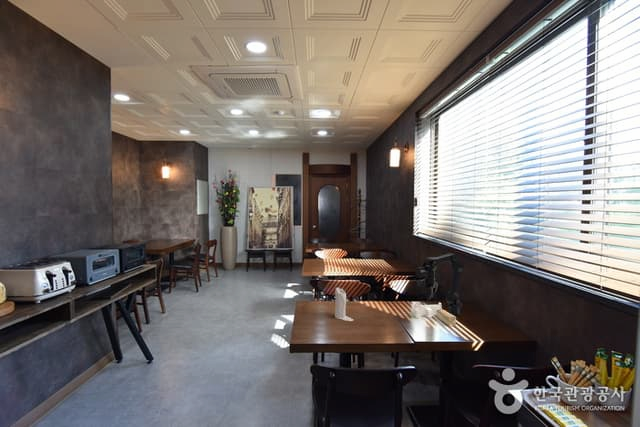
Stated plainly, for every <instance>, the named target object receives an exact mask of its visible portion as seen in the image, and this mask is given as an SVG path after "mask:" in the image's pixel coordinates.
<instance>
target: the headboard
mask: <svg viewBox="0 0 640 427" xmlns="http://www.w3.org/2000/svg"><path fill="white" fill-rule="evenodd" d="M442 305H443V304H442V303H441V302H438V303H437V304H422V305H421V304H420V305H418V303H417V302H416V303H414V307H413V317H414V318H416V319H421V317H423V316H424V317H426V318H430V319H431V318H433V316H437V310H438V309H442V308H443V307H442Z"/></svg>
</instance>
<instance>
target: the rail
mask: <svg viewBox="0 0 640 427" xmlns="http://www.w3.org/2000/svg"><path fill="white" fill-rule="evenodd" d="M448 312H449V311H447V310H444V309H442V308H441V309H438V310H437V315H436V319H438V320H440V321H441V322H443V323H445V324H446V325H447V326H450V327H453V326H456V325H457V316H453V315H451V314H450V313H448Z"/></svg>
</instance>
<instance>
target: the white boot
mask: <svg viewBox="0 0 640 427" xmlns="http://www.w3.org/2000/svg"><path fill="white" fill-rule="evenodd" d="M334 290H335V292H334V294H335V304H334V306H335V307H334V318H335V319H338V320H341V319H342V320H341V321H346V322H347V321H349V322H353V321H354V319H353V318H351V316H350V317H349V316H347V315H346V307H347V306H346V304H347V294H346V291H344V289H343V288H340V287H335V289H334Z"/></svg>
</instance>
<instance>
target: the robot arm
mask: <svg viewBox="0 0 640 427" xmlns="http://www.w3.org/2000/svg"><path fill="white" fill-rule="evenodd" d="M445 262H450V263H451V268H452V277H451V283H450V289H449V291H448V292H446V296H445V301H446V302H447V305H449V307H448V311H447V312H448V313H450V314H451V315H453V316H455V317H460V316H462V314H461V308H462V307H463V302H461V300H460V298H461V297H460V293H459V289H460V288H459V287H460V280H461V272H463V270H464V269H465V264H466V263H465V260H464V259H462V258H460V257H458V256H456V254H454V253H447V254H443V255H439V256H436V257H434V256H433V257H431V256H429V257H425V259H424V261H423V263H422V265H421V266H420V267H419V266H418V267H417V269H416V270H415V276H416V277H417V278H418V280H417V281H416V285H417V286H418V287H422V286H423V287H422V288H421V291H422V293H424V294H425V298H426V301H427V302H430V300H431V299H432V298H434V295H435V292H437V289H438V287H439V286H438V285H439V284H438V282H437V281H436V282H435V280H436V277H435V276H436V272H435V271H437V270H438V268H437V267H438V266H439V264H441V263H442V264H443V263H445ZM420 278H421V279H420ZM422 278H424V279H422Z"/></svg>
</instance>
